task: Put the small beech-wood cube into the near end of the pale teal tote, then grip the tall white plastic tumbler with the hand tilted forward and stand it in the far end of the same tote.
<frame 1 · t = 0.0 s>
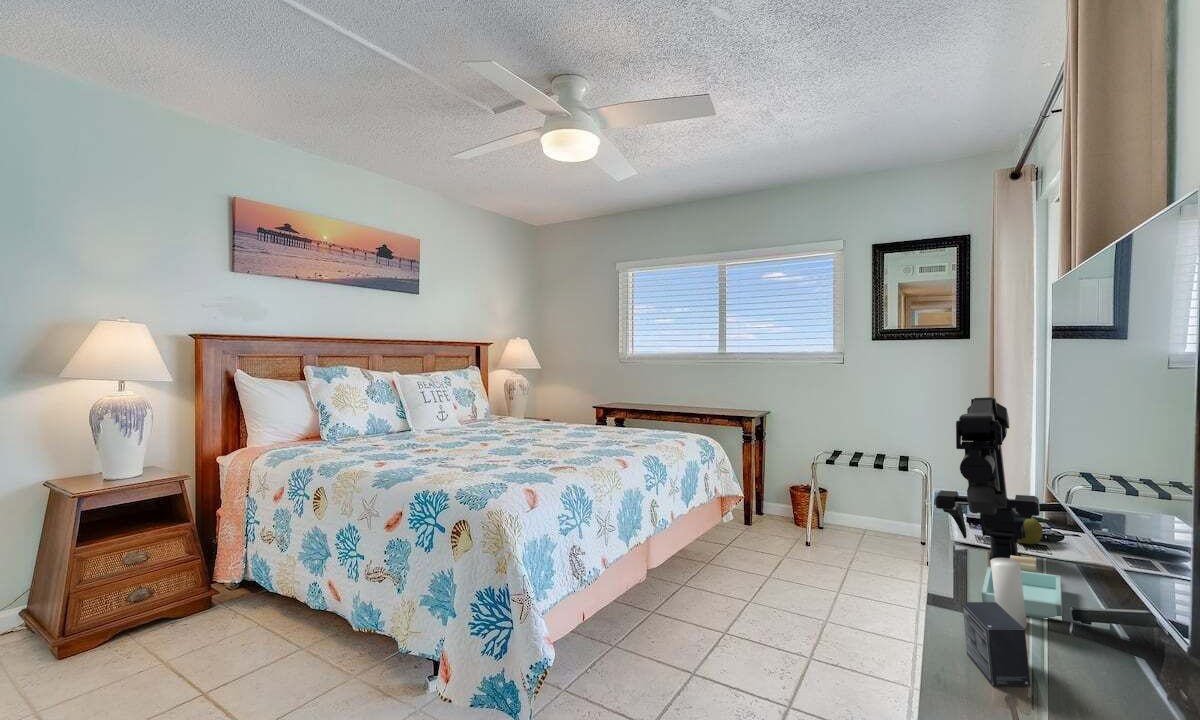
hand: (989, 540, 123), 15 cm above the table, tool pointing down, fingers open, 9 cm apart
apple: (1026, 543, 153), on the table
small box: (998, 671, 102), on the table
tote: (1023, 599, 124), on the table
cube: (1024, 581, 133), on the table
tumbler: (1011, 623, 116), on the table
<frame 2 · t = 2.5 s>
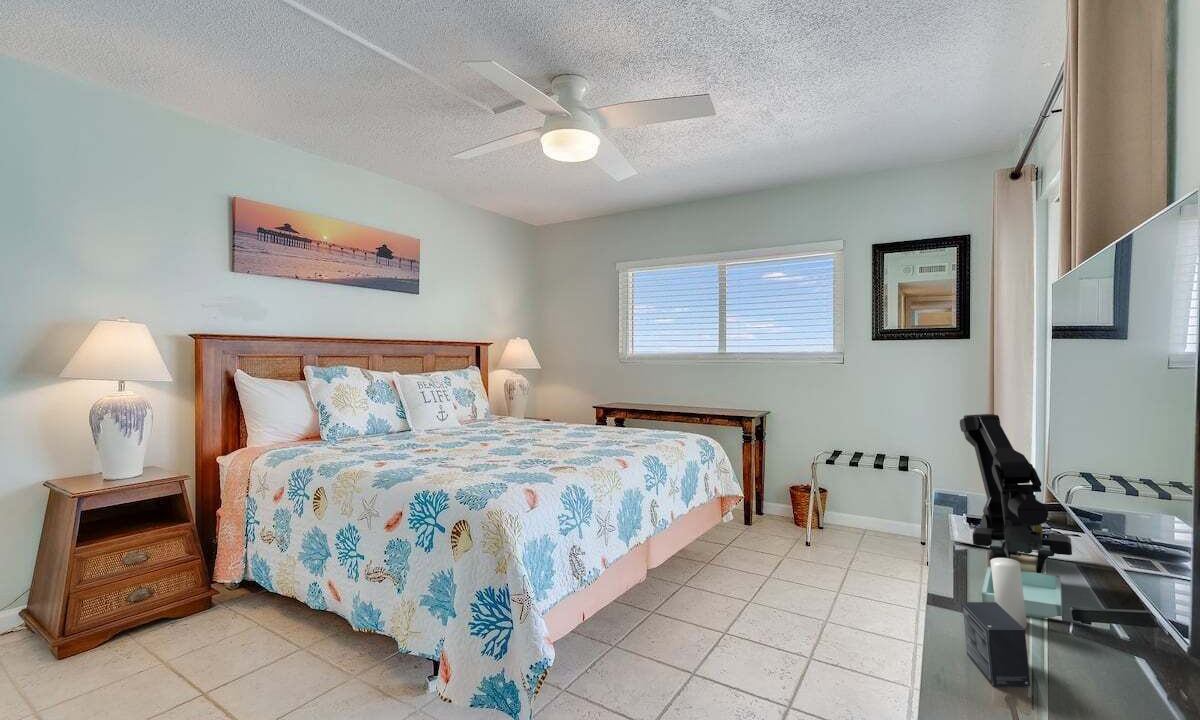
hand: (1024, 575, 133), 1 cm above the table, tool pointing down, fingers closed on cube, 5 cm apart
cube: (1024, 580, 133), on the table, touching gripper
everything else where it was.
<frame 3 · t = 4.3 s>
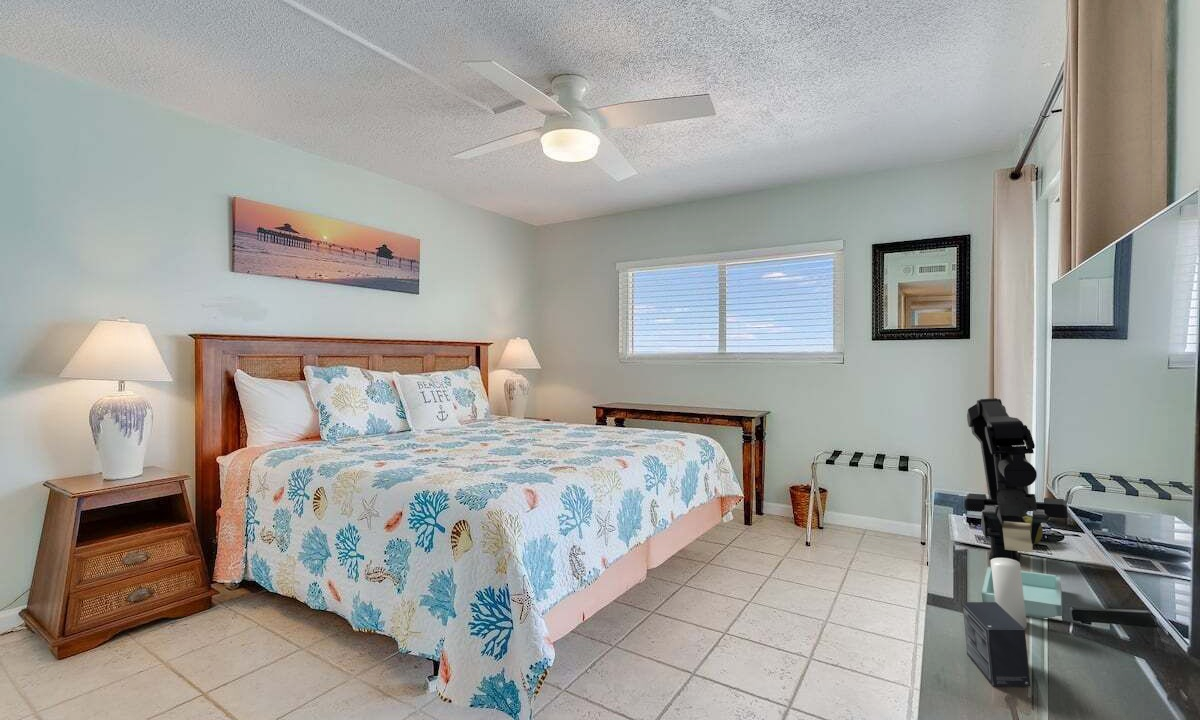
hand: (1018, 541, 127), 12 cm above the table, tool pointing down, fingers closed on cube, 5 cm apart
cube: (1018, 547, 127), point 11 cm above the table, touching gripper
everything else where it was.
when the fingers open (4 cm above the table, at t = 6.1 s): cube drops 2 cm, resting on tote.
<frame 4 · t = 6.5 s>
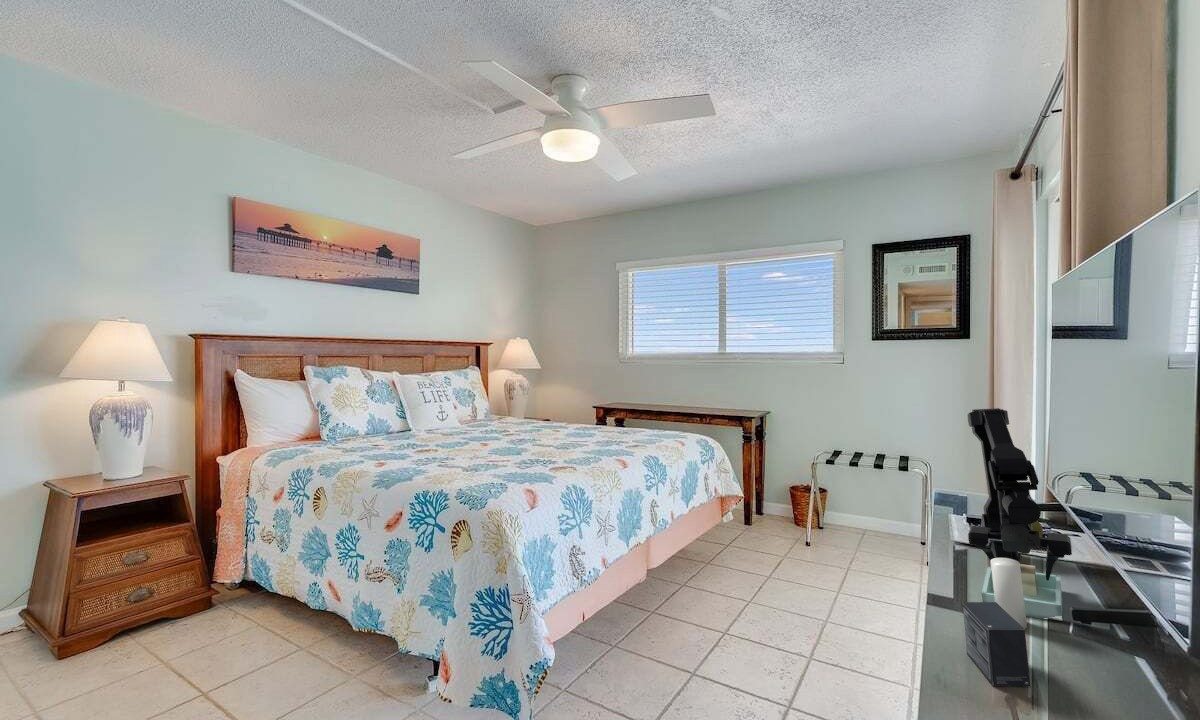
hand: (1022, 576, 127), 4 cm above the table, tool pointing down, fingers open, 9 cm apart
cube: (1023, 589, 127), point 1 cm above the table, touching tote
everything else where it was.
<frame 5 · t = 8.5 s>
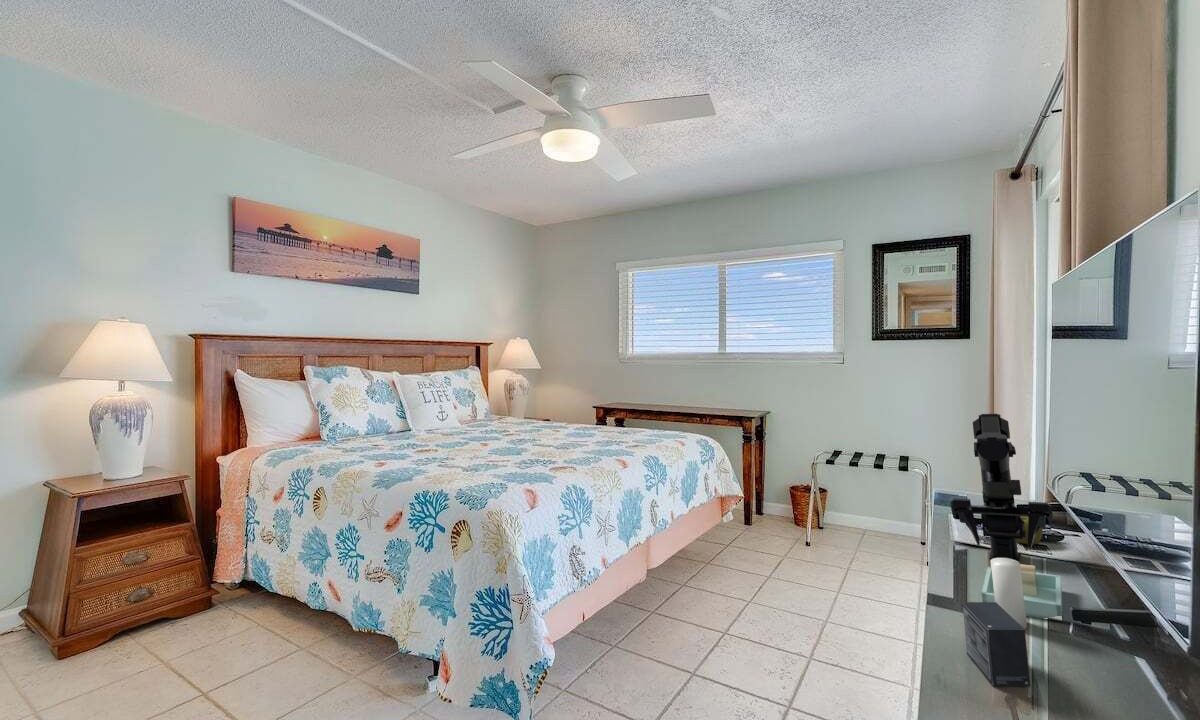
hand: (1003, 546, 122), 13 cm above the table, tool tilted 45°, fingers open, 9 cm apart
nothing on the table moved.
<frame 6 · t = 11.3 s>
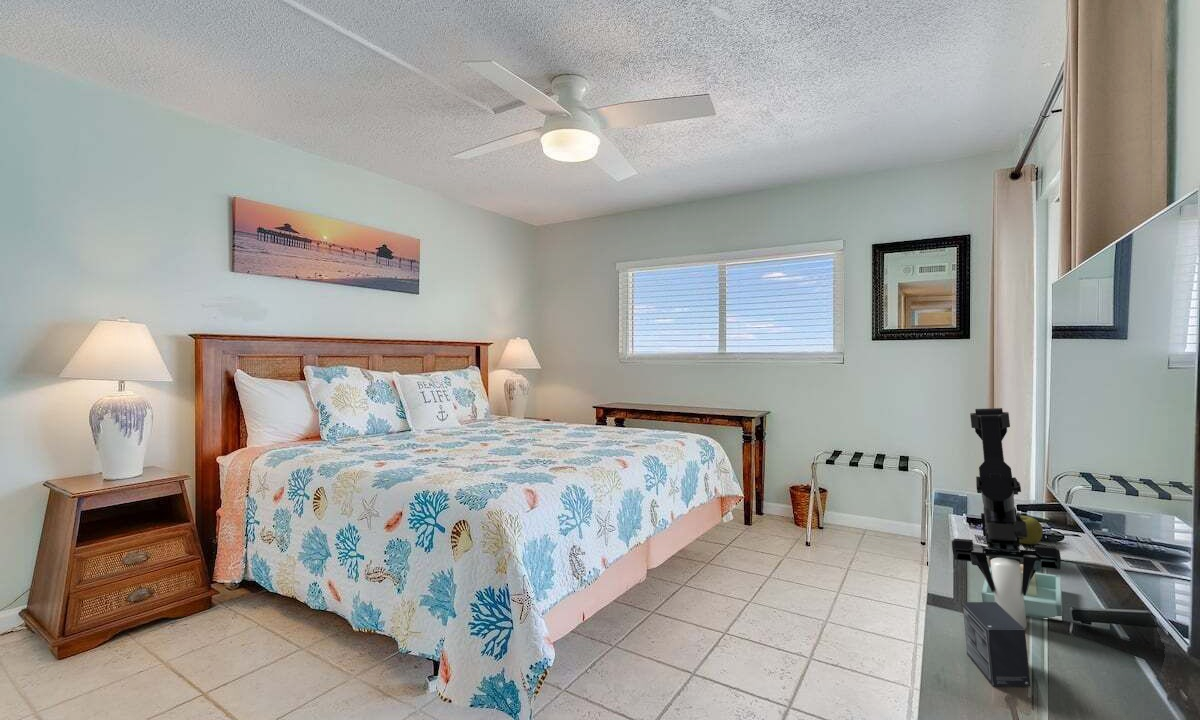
hand: (1008, 592, 115), 7 cm above the table, tool tilted 45°, fingers closed on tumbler, 5 cm apart
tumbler: (1011, 623, 116), on the table, touching gripper
everything else where it was.
when the fingers open (10 cm above the table, at t = 13.8 s): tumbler drops 2 cm, resting on tote.
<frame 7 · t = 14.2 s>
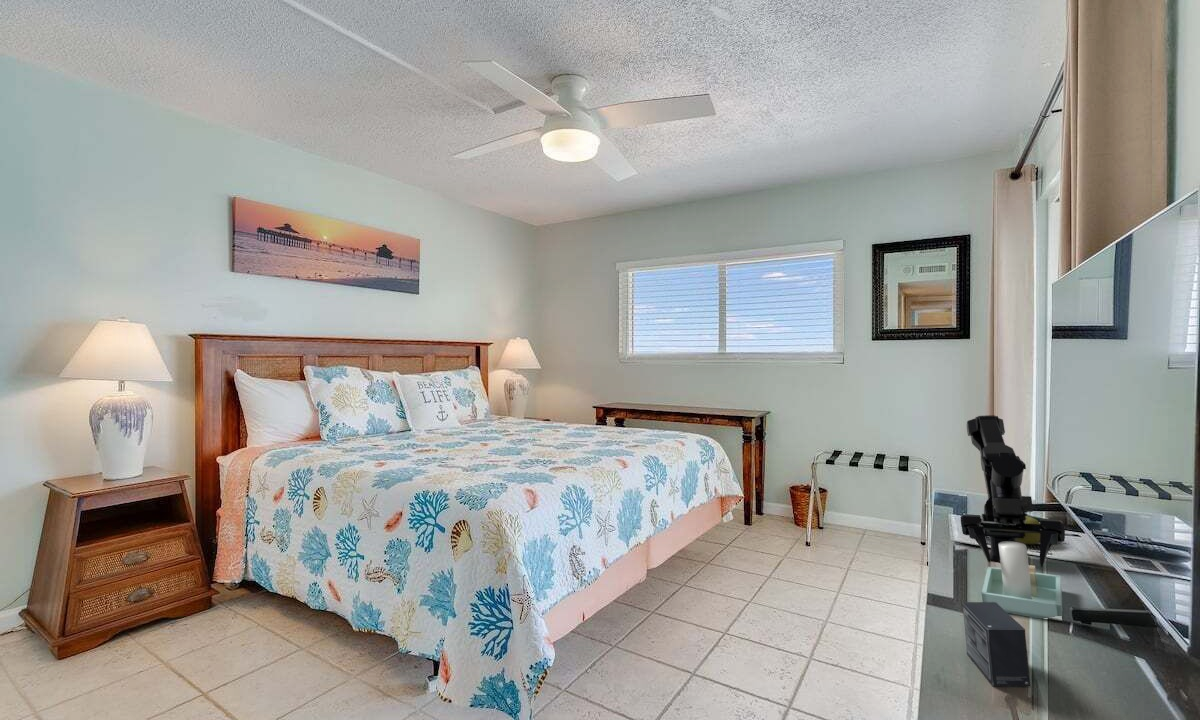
hand: (1015, 564, 120), 10 cm above the table, tool tilted 45°, fingers open, 9 cm apart
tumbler: (1019, 603, 122), point 1 cm above the table, touching tote
everything else where it was.
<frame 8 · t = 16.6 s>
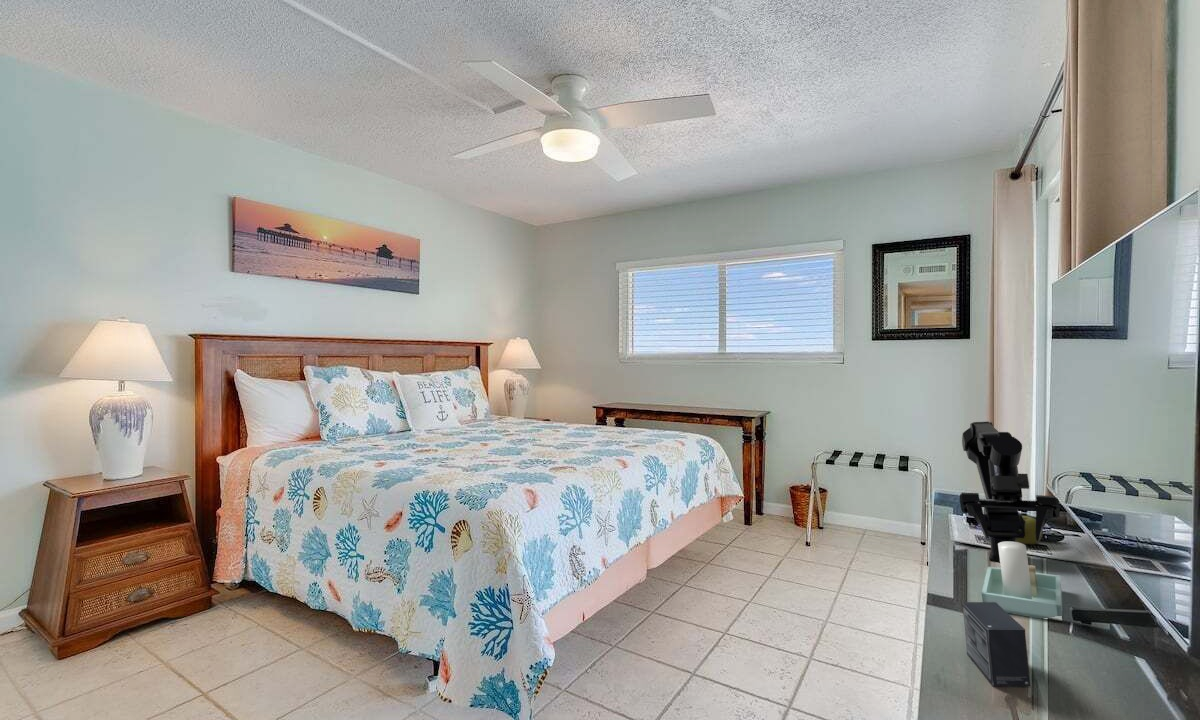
hand: (1011, 538, 125), 14 cm above the table, tool tilted 45°, fingers open, 9 cm apart
nothing on the table moved.
at the end: cube inside the target area on the tote (4.0 cm from its centre), point 0.6 cm above the tote's base; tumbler inside the target area on the tote (3.7 cm from its centre), point 0.6 cm above the tote's base; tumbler tilted 1° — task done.
